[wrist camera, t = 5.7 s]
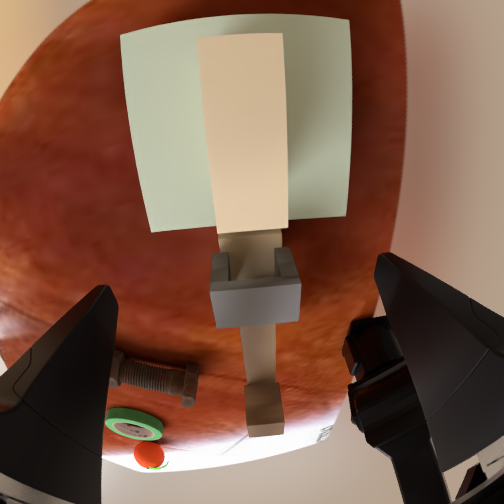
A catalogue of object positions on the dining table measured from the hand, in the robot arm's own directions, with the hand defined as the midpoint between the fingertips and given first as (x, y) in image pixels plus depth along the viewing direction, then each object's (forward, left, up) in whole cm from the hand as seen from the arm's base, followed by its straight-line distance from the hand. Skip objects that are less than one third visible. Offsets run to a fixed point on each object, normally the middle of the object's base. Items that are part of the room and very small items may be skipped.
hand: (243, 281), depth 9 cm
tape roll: (+23, +43, -14) cm, 51 cm away
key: (-1, +14, -8) cm, 16 cm away
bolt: (+14, +23, -14) cm, 31 cm away
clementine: (+24, +56, -14) cm, 63 cm away
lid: (-1, -4, -10) cm, 10 cm away
